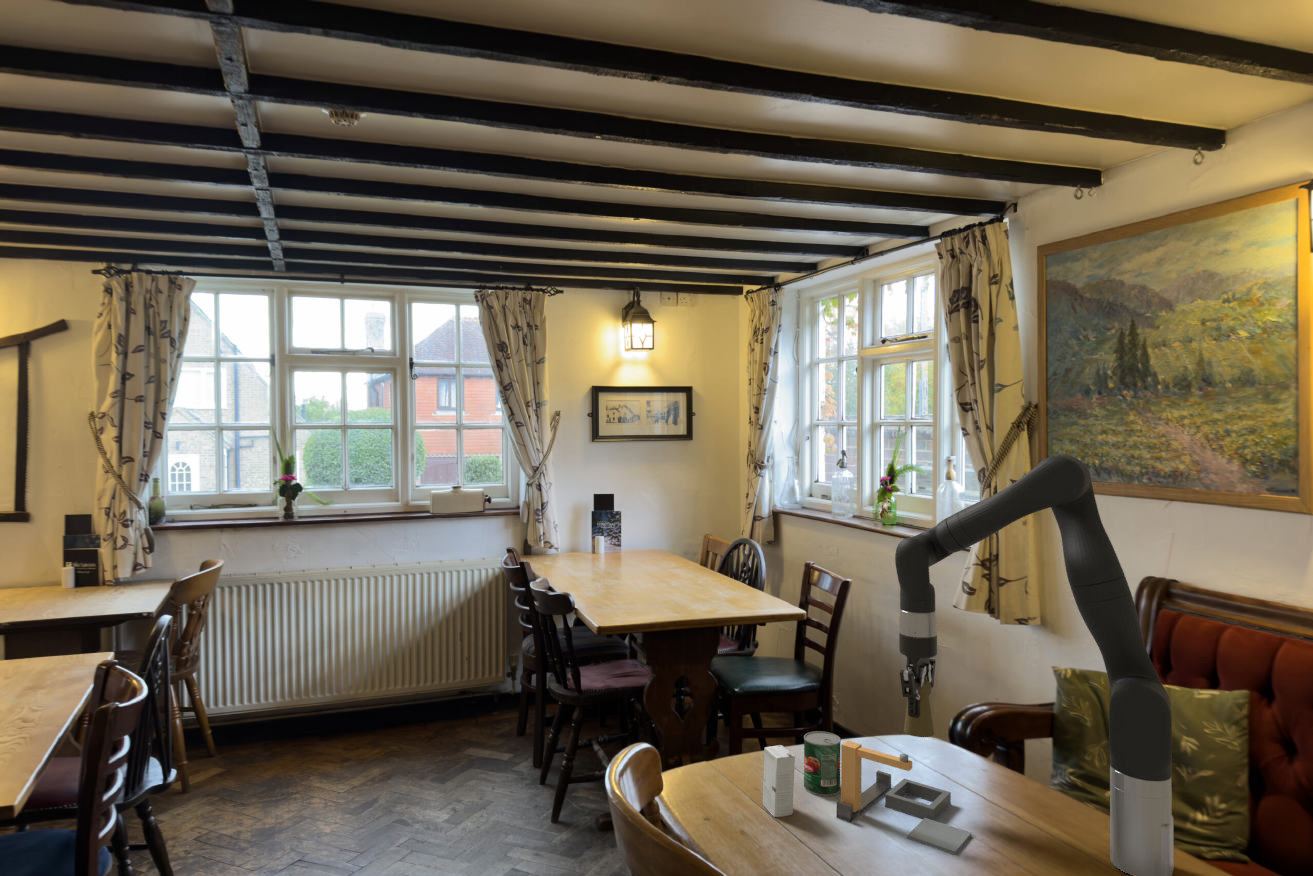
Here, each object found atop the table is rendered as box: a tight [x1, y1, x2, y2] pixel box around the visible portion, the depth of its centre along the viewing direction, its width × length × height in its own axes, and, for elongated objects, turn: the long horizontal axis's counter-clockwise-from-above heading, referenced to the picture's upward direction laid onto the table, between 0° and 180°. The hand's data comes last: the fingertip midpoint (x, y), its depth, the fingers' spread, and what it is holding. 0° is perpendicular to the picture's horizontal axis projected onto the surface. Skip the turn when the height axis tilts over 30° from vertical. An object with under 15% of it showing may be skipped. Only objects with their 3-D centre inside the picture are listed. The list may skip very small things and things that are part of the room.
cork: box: [903, 679, 935, 738], centre depth 157 cm, size 6×6×11 cm
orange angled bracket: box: [840, 740, 913, 812], centre depth 150 cm, size 14×3×14 cm, turn 50°
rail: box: [836, 770, 892, 823], centre depth 158 cm, size 3×20×3 cm, turn 140°
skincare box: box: [762, 744, 796, 818], centre depth 154 cm, size 6×4×12 cm
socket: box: [884, 778, 952, 821], centre depth 157 cm, size 10×10×2 cm
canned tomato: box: [803, 730, 842, 797], centre depth 164 cm, size 8×8×11 cm
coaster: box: [907, 818, 972, 856], centre depth 144 cm, size 9×9×1 cm
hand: (918, 713), depth 157 cm, fingers closed on cork, 4 cm apart
